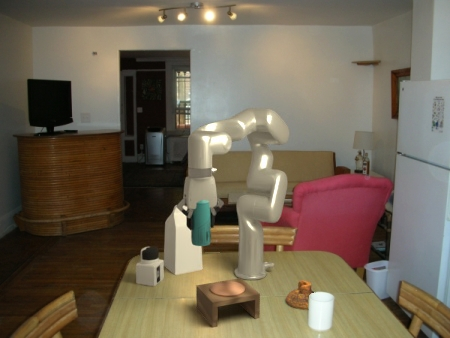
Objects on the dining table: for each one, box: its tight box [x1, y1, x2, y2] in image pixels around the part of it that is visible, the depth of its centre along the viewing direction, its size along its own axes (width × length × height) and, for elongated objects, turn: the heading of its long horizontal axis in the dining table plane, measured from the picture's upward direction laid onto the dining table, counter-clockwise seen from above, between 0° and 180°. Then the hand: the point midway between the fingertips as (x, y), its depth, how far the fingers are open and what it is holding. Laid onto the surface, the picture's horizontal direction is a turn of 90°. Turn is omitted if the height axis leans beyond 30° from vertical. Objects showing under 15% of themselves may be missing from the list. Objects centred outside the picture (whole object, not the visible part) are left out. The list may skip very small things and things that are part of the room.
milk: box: [163, 204, 204, 276], centre depth 191 cm, size 12×12×26 cm
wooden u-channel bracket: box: [195, 277, 261, 328], centre depth 153 cm, size 16×14×9 cm
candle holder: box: [285, 280, 315, 310], centre depth 162 cm, size 12×12×7 cm
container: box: [135, 246, 165, 287], centre depth 178 cm, size 8×8×13 cm
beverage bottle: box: [191, 200, 212, 247], centre depth 153 cm, size 6×7×20 cm
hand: (200, 227), depth 153 cm, fingers closed on beverage bottle, 6 cm apart
